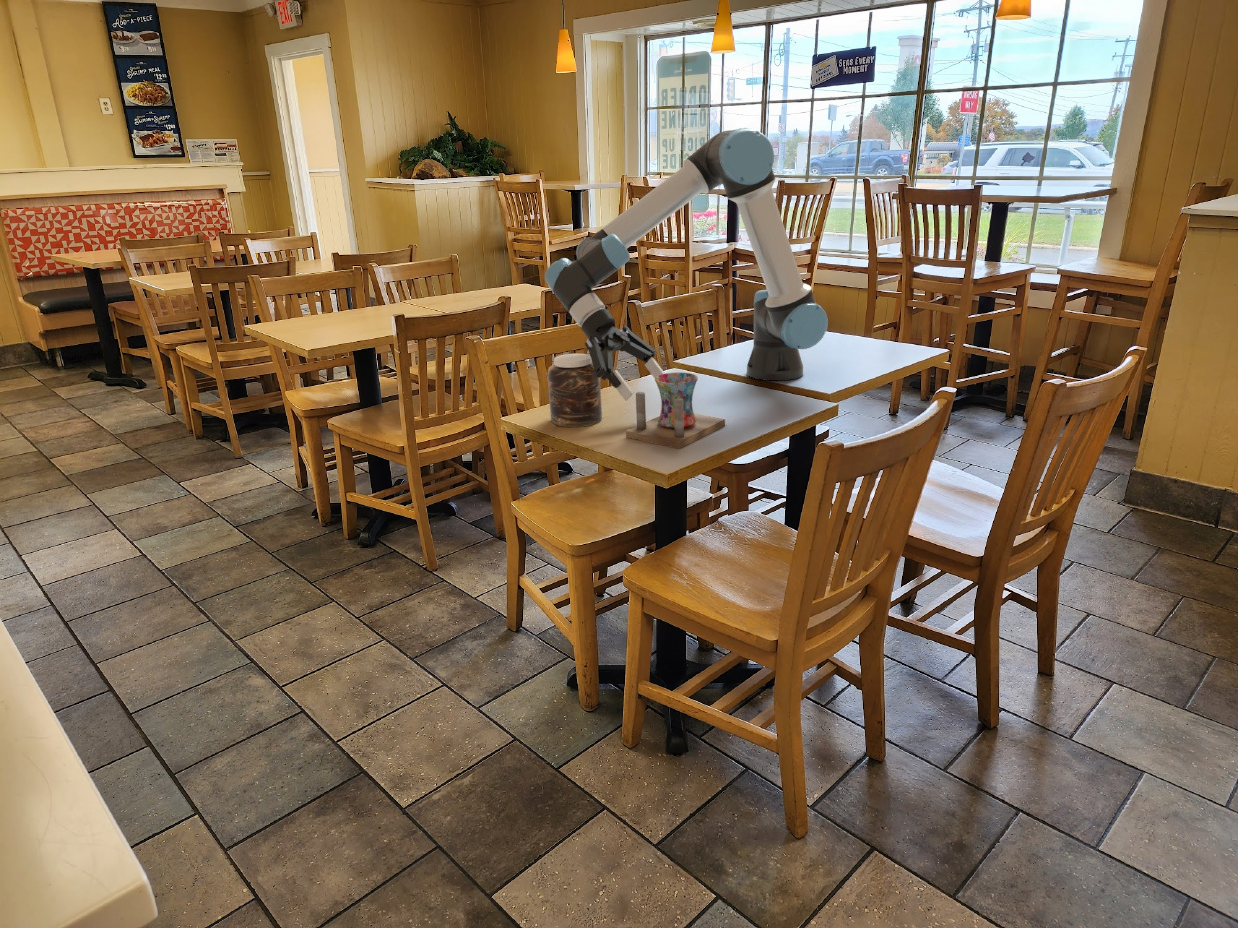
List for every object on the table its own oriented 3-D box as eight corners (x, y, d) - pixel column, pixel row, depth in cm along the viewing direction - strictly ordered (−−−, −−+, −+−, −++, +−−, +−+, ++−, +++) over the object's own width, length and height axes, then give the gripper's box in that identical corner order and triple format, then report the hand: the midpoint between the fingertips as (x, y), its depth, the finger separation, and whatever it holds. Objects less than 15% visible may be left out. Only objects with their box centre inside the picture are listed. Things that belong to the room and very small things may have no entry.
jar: (583, 409, 198) (579, 349, 192) (611, 419, 189) (608, 357, 184) (542, 420, 191) (537, 357, 186) (569, 431, 182) (564, 366, 177)
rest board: (673, 415, 189) (672, 376, 186) (725, 425, 181) (725, 384, 178) (626, 437, 176) (624, 395, 173) (679, 448, 168) (678, 404, 165)
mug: (687, 433, 173) (686, 384, 169) (648, 428, 177) (647, 381, 173) (709, 417, 182) (709, 371, 178) (672, 413, 187) (671, 368, 183)
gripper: (617, 319, 198) (669, 386, 194) (548, 338, 180) (604, 413, 176) (634, 298, 193) (688, 367, 189) (565, 316, 175) (623, 393, 171)
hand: (648, 389), depth 183 cm, fingers open, 13 cm apart
